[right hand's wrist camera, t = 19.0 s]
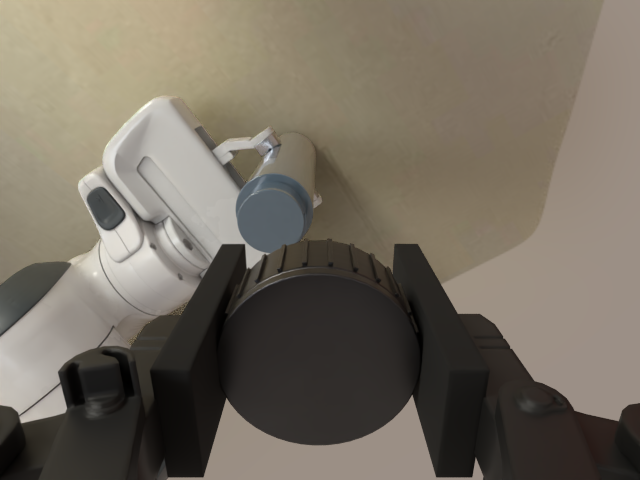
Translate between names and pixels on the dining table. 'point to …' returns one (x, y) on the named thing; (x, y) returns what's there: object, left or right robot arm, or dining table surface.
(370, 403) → the lid
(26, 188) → the dining table surface
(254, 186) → the grey cylindrical container
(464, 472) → the right robot arm
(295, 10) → the dining table surface
